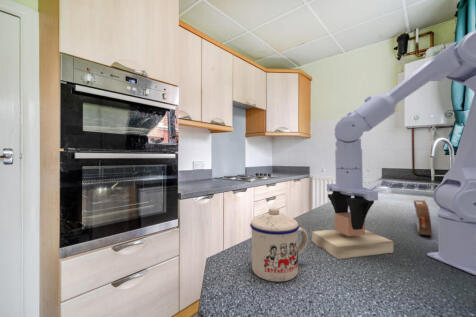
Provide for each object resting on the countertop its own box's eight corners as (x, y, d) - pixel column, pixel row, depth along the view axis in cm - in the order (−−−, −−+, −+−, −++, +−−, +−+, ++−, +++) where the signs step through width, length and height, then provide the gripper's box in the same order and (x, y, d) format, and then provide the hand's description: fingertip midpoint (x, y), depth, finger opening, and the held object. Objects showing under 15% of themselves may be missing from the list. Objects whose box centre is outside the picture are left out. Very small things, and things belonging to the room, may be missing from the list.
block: (364, 234, 49) (364, 217, 49) (348, 236, 48) (348, 218, 48) (350, 228, 54) (350, 212, 53) (334, 229, 52) (334, 213, 52)
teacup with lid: (264, 288, 35) (263, 216, 35) (243, 263, 43) (243, 205, 43) (323, 274, 39) (322, 209, 39) (293, 253, 47) (293, 201, 47)
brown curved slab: (432, 240, 54) (432, 207, 54) (416, 237, 56) (416, 205, 56) (426, 225, 66) (426, 198, 66) (413, 223, 68) (413, 197, 68)
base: (393, 252, 47) (393, 241, 47) (337, 258, 44) (337, 246, 44) (359, 236, 57) (359, 227, 57) (311, 241, 54) (311, 231, 54)
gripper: (316, 168, 57) (317, 218, 57) (356, 170, 43) (357, 237, 43) (339, 167, 59) (340, 216, 59) (386, 169, 44) (387, 234, 44)
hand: (349, 225), depth 51 cm, fingers closed on block, 4 cm apart
